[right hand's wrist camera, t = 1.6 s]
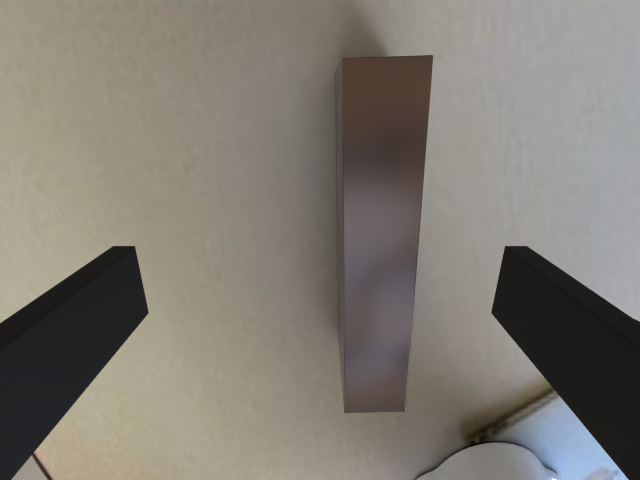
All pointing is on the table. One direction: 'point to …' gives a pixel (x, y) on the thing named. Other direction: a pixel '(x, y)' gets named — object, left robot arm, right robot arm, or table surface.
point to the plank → (378, 222)
